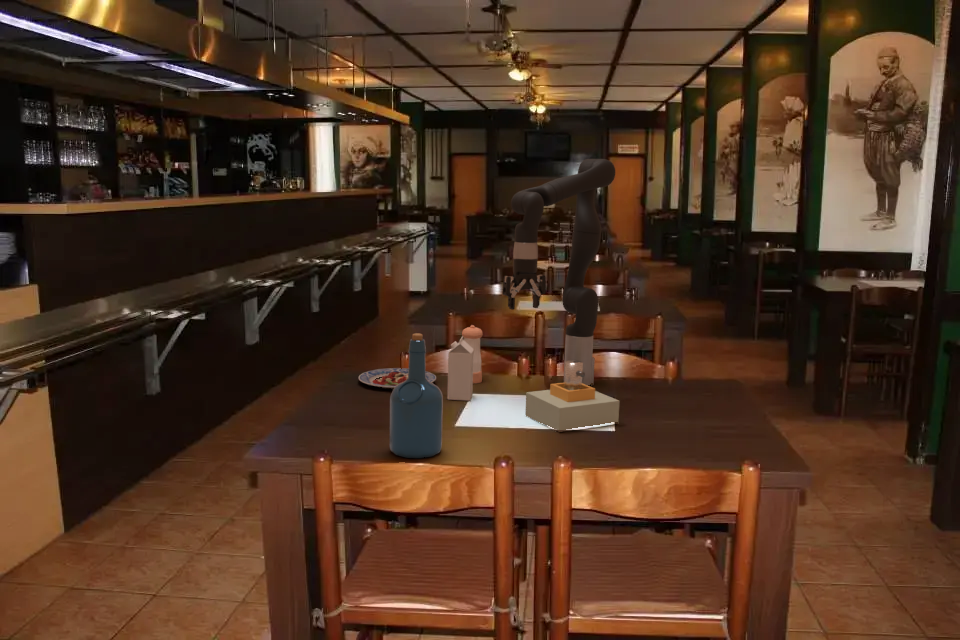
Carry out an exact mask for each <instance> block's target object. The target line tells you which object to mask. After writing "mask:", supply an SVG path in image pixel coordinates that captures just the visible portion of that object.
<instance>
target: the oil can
mask: <svg viewBox="0 0 960 640" xmlns="http://www.w3.org/2000/svg"><path fill="white" fill-rule="evenodd" d="M582 370H583V362H581V361H575V360H569V361H566V362H565V377H564V376H563V383H564V389H567V390H578V389H582V377H584V376H585V373H584V372H582Z"/></svg>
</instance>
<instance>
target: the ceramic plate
mask: <svg viewBox="0 0 960 640" xmlns="http://www.w3.org/2000/svg"><path fill="white" fill-rule="evenodd" d="M401 368H402V367H393V368H392V367H391V368H390V367H389V368H378V369H373V370H368V371H365V372H362V373H361V374H359V376H358V380H359V381H360V382H361V383H363V384H365V385H368V386H374V387H377V388H380V387H382V388H381V389H386V388H391V389H390V390H393V389H394V388H395V387H396V386H397V385H398V384H399V383H402V382H404V381H406V380H407V378H408V368H407V367H406V368H402V369H401ZM379 377H382V378H380V379H376V378H379ZM375 379H376V380H375ZM426 379H427V380H428V381H429V382H431V383H434V382H436V381H437V376H436V374H434V373H431V372H430V371H426Z"/></svg>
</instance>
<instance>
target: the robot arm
mask: <svg viewBox="0 0 960 640" xmlns="http://www.w3.org/2000/svg"><path fill="white" fill-rule="evenodd" d="M615 178H616V167H615V165H614V163H613V162H612V161H610V160H608V159H605V158H586V159H584V160H582V161H581V162H580V164H579V166H578V169H577V173H576V174H572V175H566V176H561V177H558V178H555V179H551V180H550V181H548V182H545V183H543V184H541V185H538V186H534V187H530V188H526V189H522V190H520V191H517V192H516V193H515V194H513V196H512V198H511V200H510V207H511V209H512V211H513V212H514V213H516V214H517V215H524V216H523V219H522V222H519V223H517V224H516V225H515V228H514V229H515V230H514V245H513V254H512V257H513V258H512V261H513V262H512V272H513V273H512V276H508V275H504V276H503V280H502V281H503V283H502V291H501V292H502V295H503V296H505V297H507V307H508V309H509V310H516V309H515V305H516V295H517V294H518V293H519V292H520V290H521V291H522V290H523V291H525V290H530V291H531V292H532V294H533V296H532V307H533V309H538V308H539V307H540V302H541V300H540V299H541V296H542V295H546V292H547V290H546V289H547V288H546V286H547V285H546V283H547V282H546V275H545V274H537V272H538V256H539V245H538V234H539V228H540V227H539V226H540V224H541V220H542V217H543V214H544V209H545V207H550V206H553V205H554V204H558V203H559V202H562V201H564V200H566V199H569V198H571V197H574V196H576V205H575V214H574V216H575V217H574V223H573V224H574V225H573V231H572V239H571V249H570V250H571V251H570V256H569V262H568V269H567V274H566V275H567V276H566V277H565V278H566V279H565V282H564V287H563V291H562V300H561V301H562V306H563V308H564V310H565V311H566V312H568V313H571V314H574V315H575V318H574V322H573V323H569V324H567V325H566V327H565V339H564V340H565V343H564V344H565V345H564V360H563V361H564V363H563V364H564V365H563V378H564V377H565V362H566V361H569V360H575V361H581V362H583V370H582V372H584V373H585V376H584V377H582V383H583V384H585V385H590V384H591V383H593V384H594V380H595V379H594V377H595V363H596V362H595V361H596V360H595V357H594V356H593V351H594V349H593V348H594V333H595V329H596V326H597V321H598V312H599V297H598V294H597V292H596V291H595V290H594V289H592V288H590V287H584V286H585V285H584V284H585V279H586V274H587V271H588V269H589V268H590V267H589V266H590V265H591V263H592V262H593V261H594V259H595V257H596V255H597V254H598V252H599V250H600V244H601V239H602V223H601V221H600V218H599V215H598V213H597V209H596V206H595V191H596V189H600V188H605V187H608V186H610V185H611V184H612V183H613V182H614V180H615ZM512 282H513V283H512ZM536 282H538V283H537V284H536ZM511 284H512V286H511ZM537 285H538V286H537Z"/></svg>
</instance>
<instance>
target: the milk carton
mask: <svg viewBox="0 0 960 640" xmlns="http://www.w3.org/2000/svg"><path fill="white" fill-rule="evenodd" d="M450 347H451V348H450V350H449V352H448V353H447V354H448V359H447V400H450V401H452V400H453V401H471V399H472V397H473V387H474V385H473V384H474V383H473V354H474V349H473V348H472V347H471V346H470V345H468V344H467V343H466V342H465V341H464V337H463V336H462V335H461V338H460V339H459V341H458V342H457V341H456V340H455V341H454V342H452V343H451V344H450Z"/></svg>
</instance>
